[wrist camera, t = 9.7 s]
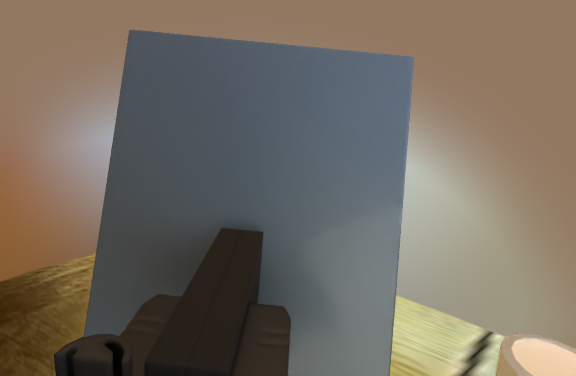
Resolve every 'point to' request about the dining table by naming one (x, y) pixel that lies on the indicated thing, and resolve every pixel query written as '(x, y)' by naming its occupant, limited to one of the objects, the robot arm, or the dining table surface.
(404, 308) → the dining table surface
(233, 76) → the lid
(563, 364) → the cream tapered cup
